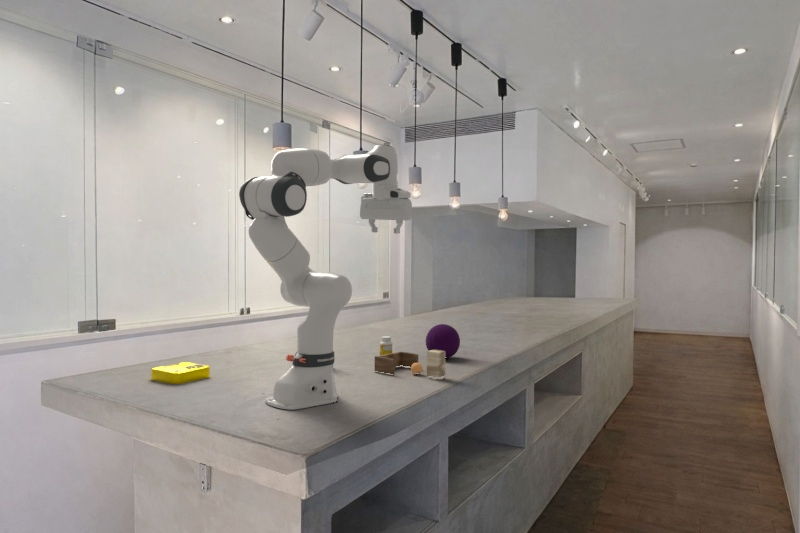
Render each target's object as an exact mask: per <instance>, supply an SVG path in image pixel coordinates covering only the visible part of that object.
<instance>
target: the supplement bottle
mask: <svg viewBox="0 0 800 533" xmlns="http://www.w3.org/2000/svg"><path fill="white" fill-rule="evenodd" d="M391 338H392V337H391V336H389V335H388V336H387V335H386V336H384V335H383V336H381V341H380V342H379V356H380V355H385V354H390V353H393V342H392V339H391Z"/></svg>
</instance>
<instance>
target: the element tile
mask: <svg viewBox="0 0 800 533" xmlns="http://www.w3.org/2000/svg"><path fill="white" fill-rule="evenodd" d="M210 368H211V367H210V365H206V364H200V363H194V362H188V361H183V362H175V363H171V364H167V365H166V364H165V365H161V366H156V367H152V368H151V369H150V372H151V373H150V380H151V381H154V380H155V381H154V382H159V381H160V382H159V383H163V382H164V384H168V383H169V384H170V385H175V384H176V385H183V384H187V383H192V382H197V381H200V379H201V380H204V378H205V379H209V378H210V377H211V375H210V374H211V371H210V370H211V369H210Z"/></svg>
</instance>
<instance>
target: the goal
mask: <svg viewBox="0 0 800 533" xmlns="http://www.w3.org/2000/svg"><path fill="white" fill-rule="evenodd" d="M414 363H419V354H418V353H412V352H407V351H397V352H392V353H390V354H385V355H380V354H379V355H375V356H374V372H375V371H378V372H384V373H390V374H394V375H395V369H396V368H395V367H396V366H400V365H403V366H410V367H411V366H412V364H414Z"/></svg>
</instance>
